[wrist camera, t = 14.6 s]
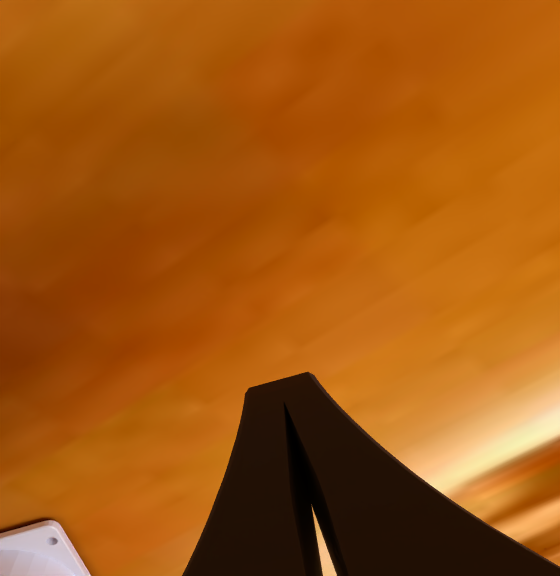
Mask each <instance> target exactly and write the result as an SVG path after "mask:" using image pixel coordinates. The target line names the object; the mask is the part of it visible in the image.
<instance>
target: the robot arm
mask: <svg viewBox="0 0 560 576" xmlns="http://www.w3.org/2000/svg"><path fill="white" fill-rule="evenodd" d="M311 504H312V505H311ZM312 507H313V510H314V513H315V515H316V518H317V521H318V524H319V527H320V529H321V532H322V535H323V538H324V540H325V543H326V546H327V549H328V552H329V554H330V557H331V560H332V563H333V565H334V568H335V571H336V574H337V576H560V567H559V566H558V565H556V564H554V563H552V562H551V561H549V560H547V559H546V558H544V557H542V556H541V555H539V554H537V553H535V552H534V551H532V550H530V549H529V548H527V547H525V546H524V545H522V544H520V543H518V542H517V541H515V540H513V539H512V538H510V537H508V536H507V535H505V534H503V533H501V532H500V531H498V530H496V529H495V528H493V527H491V526H490V525H488V524H487V523H485V522H484V521H482V520H481V519H479V518H477V517H476V516H474V515H473V514H471V513H470V512H468V511H467V510H465V509H464V508H462V507H461V506H459V505H458V504H456V503H455V502H453V501H452V500H451V499H449V498H448V497H446V496H445V495H444V494H442V493H441V492H439V491H438V490H436V489H435V488H434V487H432V486H431V485H429V484H428V483H427V482H425V481H424V480H423V479H421V478H420V477H419V476H418V475H416V474H415V473H414V472H412V471H411V470H410V469H409V468H407V467H406V466H405V465H404V464H402V463H401V462H400V461H399V460H397V459H396V458H395V457H394V456H393V455H391V454H390V453H389V452H388V451H387V450H385V449H384V448H383V447H382V446H381V445H380V444H379V443H377V442H376V441H375V440H374V439H373V438H372V437H371V436H370V435H369V434H367V433H366V432H365V431H364V430H363V429H362V428H361V427H360V426H359V425H358V424H357V423H356V422H355V421H354V420H353V419H352V418H351V417H350V416H349V415H348V414H347V413H346V412H345V411H344V410H343V409H342V408H341V407H340V406H339V405H338V404H337V403H336V402H335V401H334V400H333V398H332V397H331V396H330V395H329V394H328V393H327V392H326V390H325V389H324V388H323V387H322V385H321V384H320V383H319V381H318V380H317V379H316V377H315V376H314V375H313V374H311V373H309V372H305V373H302V374H298V375H294V376H291V377H287V378H283V379H280V380H276V381H272V382H269V383H265V384H262V385H258V386H254V387H251V388H249V389H248V390H247V392H246V393H245V399H244V406H243V411H242V416H241V420H240V425H239V428H238V432H237V436H236V440H235V443H234V446H233V450H232V453H231V456H230V460H229V463H228V466H227V469H226V472H225V475H224V478H223V481H222V483H221V486H220V489H219V491H218V494H217V497H216V499H215V502H214V505H213V507H212V510H211V513H210V515H209V518H208V520H207V522H206V525H205V527H204V530H203V532H202V534H201V537H200V539H199V541H198V543H197V546H196V548H195V550H194V552H193V554H192V556H191V558H190V561H189V563H188V565H187V567H186V569H185V571H184V573H183V575H182V576H323V574H322V567H321V561H320V555H319V549H318V542H317V536H316V530H315V524H314V518H313V511H312ZM52 537H54V538H52ZM0 576H91V575H90V573H89V571H88V570H87V568H86V566H85V565H84V563H83V562H82V560H81V558H80V557H79V555H78V553H77V552H76V550H75V548H74V547H73V545H72V543H71V542H70V540H69V539H68V537H67V535H66V534H65V532H64V530H63V529H62V527H61V525H60V524H59V523H58V522H56V521H53V520H47V521H43V522H39V523H36V524H32V525H29V526H25V527H22V528H18V529H15V530H11V531H7V532H4V533H0Z"/></svg>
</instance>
